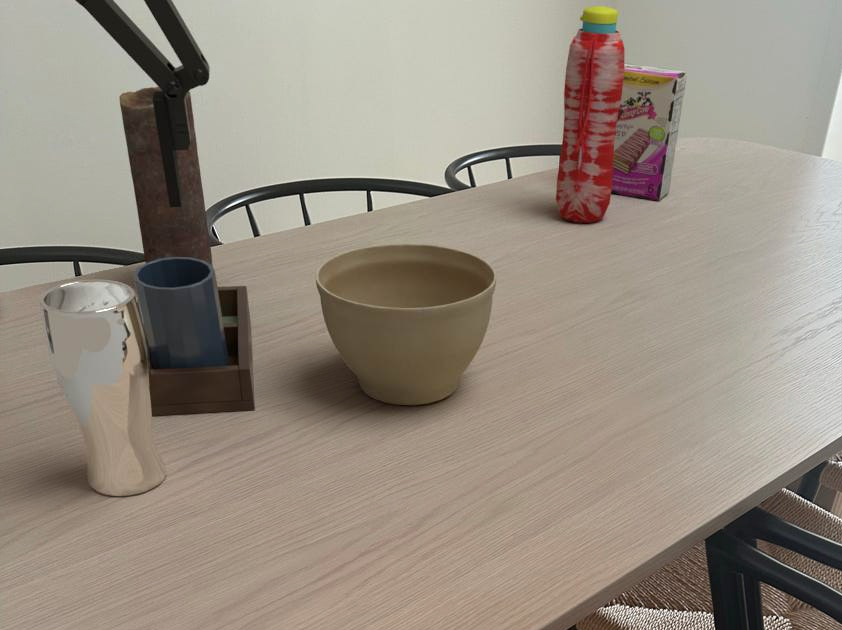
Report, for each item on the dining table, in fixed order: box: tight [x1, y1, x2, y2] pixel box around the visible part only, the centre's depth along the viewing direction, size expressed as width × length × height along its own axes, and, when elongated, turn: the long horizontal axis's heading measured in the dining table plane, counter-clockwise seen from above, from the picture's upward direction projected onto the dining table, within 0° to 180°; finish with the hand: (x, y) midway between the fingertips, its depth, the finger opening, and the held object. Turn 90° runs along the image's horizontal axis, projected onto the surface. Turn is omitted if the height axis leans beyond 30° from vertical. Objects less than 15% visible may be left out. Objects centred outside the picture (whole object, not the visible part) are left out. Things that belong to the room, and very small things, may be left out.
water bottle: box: [555, 5, 626, 224], centre depth 131 cm, size 12×8×25 cm, turn 158°
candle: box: [119, 86, 214, 267], centre depth 107 cm, size 8×7×20 cm
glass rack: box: [136, 285, 256, 417], centre depth 96 cm, size 11×21×4 cm, turn 11°
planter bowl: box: [314, 242, 497, 406], centre depth 92 cm, size 16×16×11 cm
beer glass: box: [38, 278, 167, 497], centre depth 76 cm, size 7×7×15 cm
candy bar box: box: [611, 62, 688, 202], centre depth 143 cm, size 11×5×16 cm, turn 65°
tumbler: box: [132, 257, 229, 370], centre depth 89 cm, size 7×7×10 cm
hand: (72, 204), depth 67 cm, fingers open, 13 cm apart
